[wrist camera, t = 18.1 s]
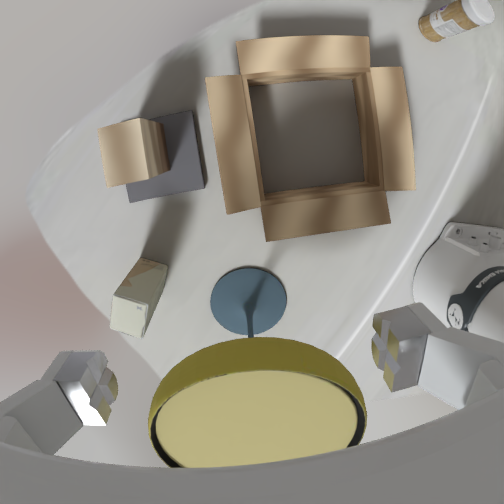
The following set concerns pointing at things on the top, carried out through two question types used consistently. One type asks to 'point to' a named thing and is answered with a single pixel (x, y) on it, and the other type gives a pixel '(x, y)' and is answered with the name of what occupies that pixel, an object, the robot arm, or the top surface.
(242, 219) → the top surface
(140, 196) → the mat
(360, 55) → the carton
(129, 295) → the box
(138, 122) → the block
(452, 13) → the sprinkles bottle
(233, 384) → the cocktail glass
